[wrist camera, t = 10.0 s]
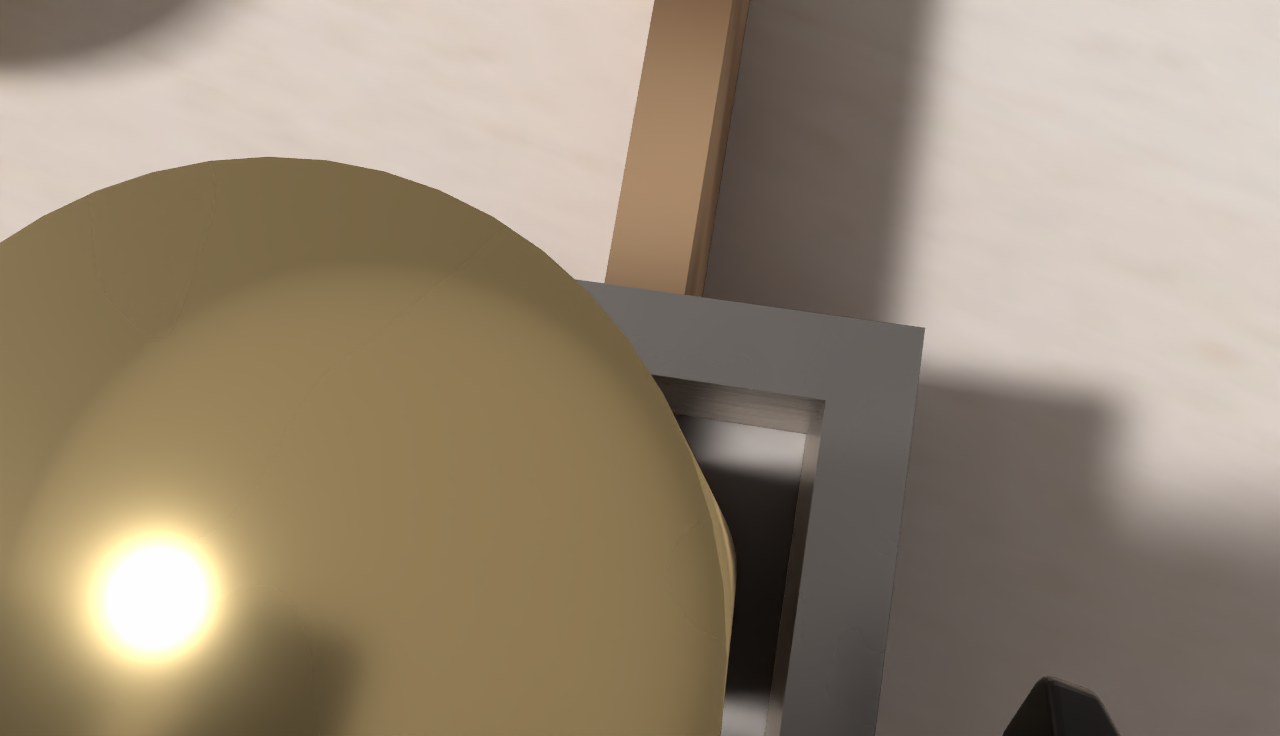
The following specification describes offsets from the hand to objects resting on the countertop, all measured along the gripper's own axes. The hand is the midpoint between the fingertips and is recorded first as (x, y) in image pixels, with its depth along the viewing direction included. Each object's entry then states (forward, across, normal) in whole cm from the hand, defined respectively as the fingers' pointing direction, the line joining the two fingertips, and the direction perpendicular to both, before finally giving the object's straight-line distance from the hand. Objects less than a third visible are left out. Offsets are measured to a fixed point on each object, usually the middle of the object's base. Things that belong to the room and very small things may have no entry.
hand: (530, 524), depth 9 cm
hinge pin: (+6, 0, +7) cm, 9 cm away
